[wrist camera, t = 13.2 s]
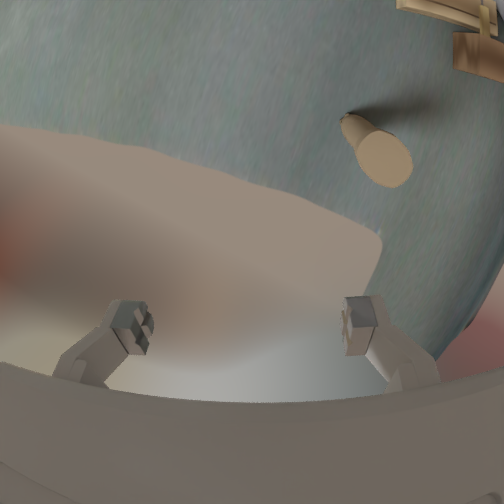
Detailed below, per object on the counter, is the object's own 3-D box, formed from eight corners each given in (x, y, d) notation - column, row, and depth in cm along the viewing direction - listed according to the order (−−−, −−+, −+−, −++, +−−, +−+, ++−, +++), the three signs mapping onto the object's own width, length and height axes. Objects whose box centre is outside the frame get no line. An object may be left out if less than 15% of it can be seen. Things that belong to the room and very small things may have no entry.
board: (392, -27, 23) (402, -33, 20) (482, 2, 22) (496, 1, 19) (396, 8, 27) (406, 6, 24) (484, 34, 25) (498, 36, 22)
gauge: (450, 3, 24) (477, 0, 18) (476, 12, 23) (503, 12, 18) (452, 68, 30) (479, 75, 25) (477, 75, 30) (504, 83, 24)
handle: (344, 96, 36) (381, 120, 24) (376, 126, 38) (421, 165, 26) (321, 120, 38) (346, 156, 26) (354, 149, 40) (389, 196, 28)
